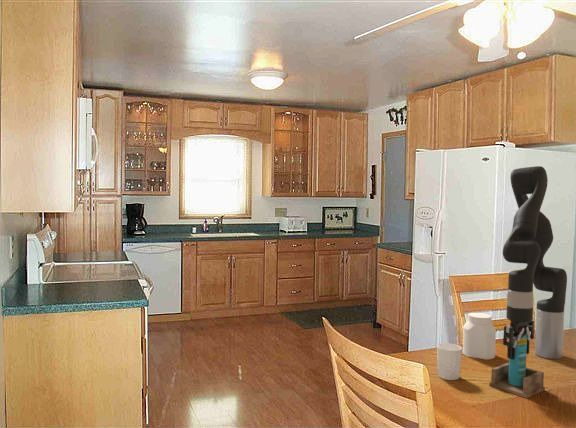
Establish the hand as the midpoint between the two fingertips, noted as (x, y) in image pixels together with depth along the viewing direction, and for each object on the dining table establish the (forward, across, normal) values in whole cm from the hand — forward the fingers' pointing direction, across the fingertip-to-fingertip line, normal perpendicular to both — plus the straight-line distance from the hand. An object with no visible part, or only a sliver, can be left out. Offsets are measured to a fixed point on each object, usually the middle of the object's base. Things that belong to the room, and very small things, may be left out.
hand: (518, 356), depth 160 cm
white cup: (+10, +9, -19) cm, 23 cm away
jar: (+10, -20, -26) cm, 34 cm away
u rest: (+10, 0, 0) cm, 10 cm away
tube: (+9, 0, 0) cm, 9 cm away
